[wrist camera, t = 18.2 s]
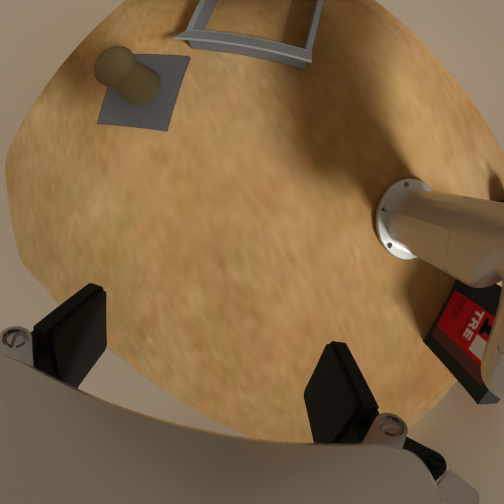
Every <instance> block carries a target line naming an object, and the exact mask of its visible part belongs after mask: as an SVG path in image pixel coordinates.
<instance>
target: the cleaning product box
mask: <svg viewBox="0 0 504 504" xmlns="http://www.w3.org/2000/svg"><path fill="white" fill-rule="evenodd" d="M501 289H502V287H501V286H499V285H497V284H494V285H491V286H488V287H484V288H474V287H471V286H468V285H466V284H464V283H463V282H461V281H459V280H456V282H455V284H454V286H453V289H452V291H451V293H450V295H449V297H448V299H447V301H446V302H445V304H444V306H443V308H442V310H441V312H440V314H439V316H438V317H437V319H436V321H435V323H434V324H433V326H432V328H431V329H430V331H429V333H428V335H427V336H426V338H425V339H424V341H423V342H424V343H425V344H426V345H427V346H428V347H429V348H430V350H431V351H432V352H433V353H434V354H435V355H436V356H437V357H438V358H439V359H440V361H441V362H442V363H443V364H444V365H445V366H446V367H447V368H448V370H449V371H450V372H451V373H452V374H453V375H454V376H455V378H456V379H457V380H458V381H459V382H460V383H461V385H462V386H463V387H464V388H465V389H466V391H467V392H468V393H469V394H470V395H471V397H472V398H473V399H474V400H475V401H476V403H477V404H491V403H498V402H499V400H500V398H498V397H497V396H495V395H494V394H493V393H492V392H491V391H490V390H489V389H488V388H487V387H486V385H485V384H484V382H483V379H482V375H481V362H482V357H483V353H484V350H485V347H486V344H487V341H488V338H489V335H490V332H491V329H492V326H493V323H494V319H495V316H496V313H497V309H498V305H499V299H500V294H501Z"/></svg>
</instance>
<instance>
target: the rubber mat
mask: <svg viewBox="0 0 504 504" xmlns="http://www.w3.org/2000/svg"><path fill="white" fill-rule="evenodd" d="M134 56H135V60H136V61H138V62H140V63H141V64H143V65H145V66H147V67H148V68H150V69H152V70H153V71H155V72H157V73H158V75H159V76H160V79H161V88H160V90H159V92H158V94H157V95H156V96H155V98H154V99H152V100H151V101H150V102H148V103H146V104H144V105H138V106H137V105H132V104H130V103H129V102H127V101H126V100H125V99H124V97H123V96H122V95H121V94H120V93H119V92H118V91H117V90H116V89H115V88H114V87H113V86H108V89H107V92H106V95H105V98H104V102H103V105H102V108H101V112H100V115H99V119H98V123H97V124H106V125H118V126H129V127H138V128H146V129H154V130H162V131H167V130H168V127H169V123H170V119H171V116H172V112H173V109H174V105H175V102H176V99H177V96H178V92H179V89H180V86H181V83H182V80H183V77H184V74H185V71H186V68H187V66H188V63H189V60H190V57H188V56H175V55H150V54H134Z"/></svg>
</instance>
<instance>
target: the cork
mask: <svg viewBox="0 0 504 504" xmlns="http://www.w3.org/2000/svg"><path fill="white" fill-rule="evenodd" d="M94 74H95V77H96V79H97V80H98V82H100V83H102V84H103V85H106V86H113V87H114V88H115V89H116V90H117V91H118V92H119V93H120V94H121V95H122V96H123V97H124V99H125V100H126V101H127V102H129V103H130V104H132V105H137V106H138V105H144V104H146V103H148V102H150V101H151V100H152V99H154V98H155V96H156V95H157V94H158V92H159V90H160V88H161V79H160V76H159V75H158V73H157V72H155V71H153V70H152V69H150V68H148V67H147V66H145V65H143V64H141V63H140V62H138V61H136V60H135V56H134V54H133V53H132V51H131V50H130V49H128V48H125V47H121V46H117V47H113V48H110V49H108V50H106V51H105V52H104V53H102V54H101V55H100V57H99V58H98V59H97V61H96V63H95V67H94Z"/></svg>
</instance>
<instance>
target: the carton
mask: <svg viewBox="0 0 504 504" xmlns="http://www.w3.org/2000/svg"><path fill="white" fill-rule="evenodd" d="M216 2H217V0H200V1H199V3H198V5H197V7H196V9H195V11H194V13H193V16H192V18H191V20H190V22H189V25H188V27H187V29H186V30H185V31H183V32H182V33H180V34H178V35H176V36H175V37H174V39H180V40H188V41H189V44H190V46H191V48H192V49H203V50H212V51H219V52H226V53H233V54H239V55H245V56H250V57H255V58H260V59H265V60H269V61H273V62H278V63H282V64H286V65H289V66H293V67H297V68H300V69H304V68H305V66H306V64H307V62H310V63H312V49H313V44H314V40H315V36H316V32H317V28H318V24H319V20H320V15H321V11H322V7H323V3H324V0H316V1H315V5H314V9H313V13H312V17H311V21H310V25H309V29H308V32H307V36H306V40H305V44H304V48H299V47H296V46H292V45H288V44H284V43H280V42H276V41H271V40H267V39H262V38H257V37H251V36H245V35H239V34H233V33H225V32H217V31H207V30H205V27H206V25H207V23H208V20H209V18H210V16H211V13H212V11H213V9H214V7H215V5H216Z"/></svg>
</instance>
